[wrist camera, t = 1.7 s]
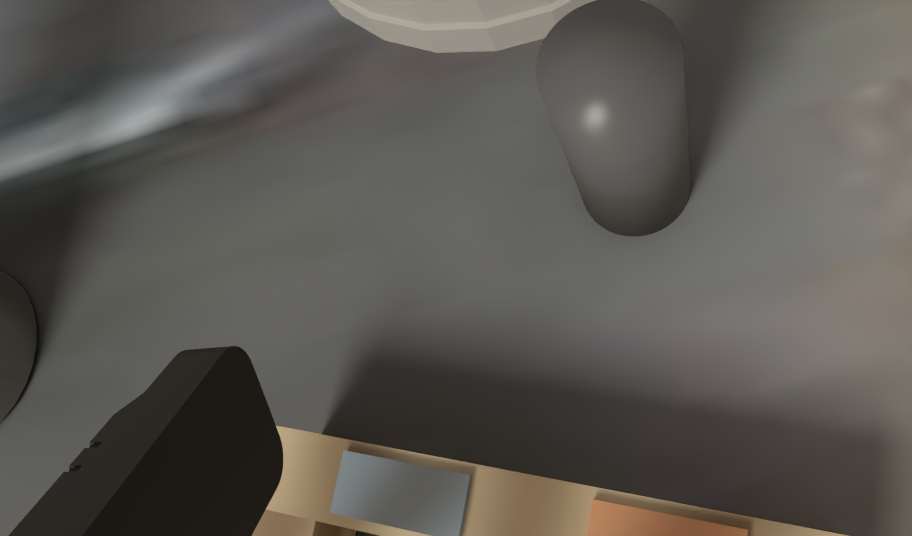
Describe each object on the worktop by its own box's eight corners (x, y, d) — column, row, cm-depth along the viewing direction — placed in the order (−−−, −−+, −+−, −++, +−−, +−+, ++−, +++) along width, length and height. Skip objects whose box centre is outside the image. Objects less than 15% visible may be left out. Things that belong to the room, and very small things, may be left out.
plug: (560, 194, 35) (507, 77, 26) (629, 116, 35) (601, -27, 26) (641, 257, 34) (615, 156, 24) (714, 176, 34) (715, 44, 24)
